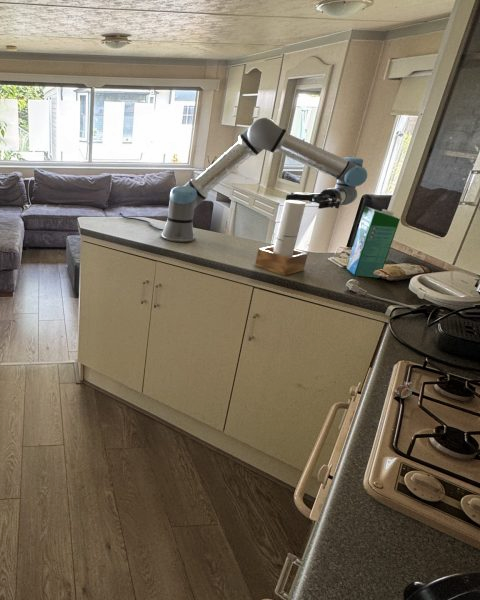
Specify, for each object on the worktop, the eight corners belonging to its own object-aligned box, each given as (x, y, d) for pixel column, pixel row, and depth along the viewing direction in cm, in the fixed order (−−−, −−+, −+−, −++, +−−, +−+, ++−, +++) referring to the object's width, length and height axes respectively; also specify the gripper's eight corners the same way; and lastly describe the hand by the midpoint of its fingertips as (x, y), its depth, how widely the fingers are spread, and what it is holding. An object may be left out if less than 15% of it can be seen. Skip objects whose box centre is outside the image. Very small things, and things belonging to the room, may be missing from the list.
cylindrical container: (288, 269, 165) (304, 204, 155) (268, 266, 168) (283, 201, 158) (290, 265, 170) (306, 201, 160) (271, 261, 174) (286, 199, 164)
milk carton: (379, 278, 163) (402, 212, 153) (354, 275, 165) (374, 210, 155) (370, 270, 171) (391, 207, 161) (345, 267, 173) (365, 205, 163)
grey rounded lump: (403, 392, 95) (410, 377, 93) (411, 399, 92) (418, 383, 91) (390, 392, 94) (397, 377, 93) (398, 399, 92) (404, 383, 91)
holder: (254, 265, 171) (258, 248, 168) (273, 260, 178) (277, 244, 175) (284, 275, 161) (289, 258, 159) (303, 270, 168) (308, 253, 165)
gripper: (359, 212, 171) (332, 218, 160) (300, 201, 189) (272, 204, 178) (365, 193, 168) (338, 197, 157) (304, 183, 186) (276, 186, 175)
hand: (302, 201), depth 167 cm, fingers open, 13 cm apart
